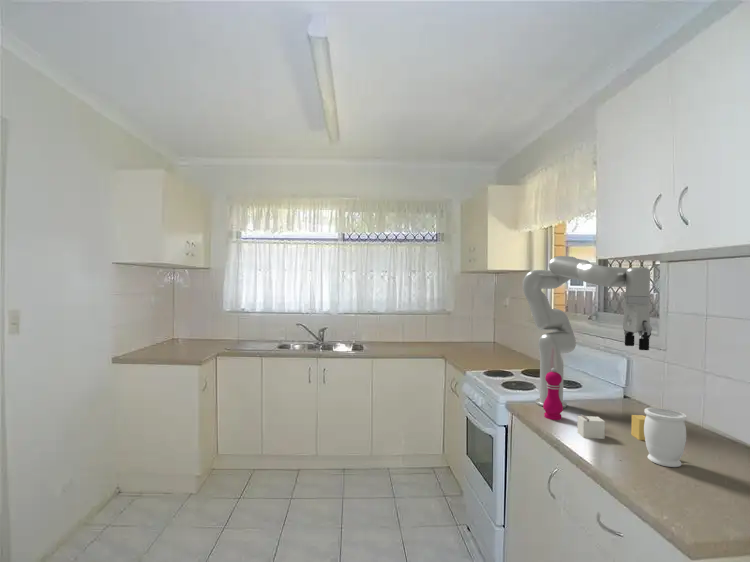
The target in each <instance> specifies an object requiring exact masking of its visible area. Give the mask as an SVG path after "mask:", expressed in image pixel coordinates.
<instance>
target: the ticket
mask: <svg viewBox="0 0 750 562" xmlns="http://www.w3.org/2000/svg"><path fill="white" fill-rule="evenodd" d="M605 427H606V421H605V420H604V419H602V418H600V416H591V415H589V416H588V415H584V414H580V415H577V434H579V435H580V437H582V438H583V439H602V440H603V439H604V440H605V433H606V431H605V430H606V428H605Z"/></svg>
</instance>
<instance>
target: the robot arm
mask: <svg viewBox="0 0 750 562" xmlns="http://www.w3.org/2000/svg"><path fill="white" fill-rule="evenodd" d="M571 279H573V280H578V281H581V282H583V283H587V284H590V285H596V286H600V287H606V288H611V287H612V288H625V306H624V309H623V310H624V311H623V320H622V321H623V322H622V329H623V331H624V332H623V333H624V346H626V347H634V346H635V335H634V334H635V333H638V336H639V338H638V350H639V351H649V350H650V340H651V336H652V330H653V327H652V326H651V316H650V301H651V300H650V297H651V295H650V293H651V271H650V269H649V268H647V267H619V266H618V267H617V266H605V265H603V266H602V265H599V264H594V263H590V261H589V260H587V259H580V258H576V257H574V256H568V255H567V256H566V255H558V256H554V257H552V258H551V259H550V260H549V263H548V270H547V269H546V270H545V269H535V270H531V271H529V272H527V273H526V274H525V276H524V278H523V280H522V291H523V294H524V296H525V298H526V301H527V303H528V306H529V310H530V312H531V316H532V319H533V322H534V324H535V326H536V328H537V329H538V330H540V331H552V332H546V333H544V334H542V335H541V336H540V337H539V338H538V342H537V345H538V352H539V363H540V364H539V398H537V399H536V400H535V403H536V404H537V405H538V406H541V407H543V404H544V401H545V399H546V398H547V395H548V388H547V381H546V380H545V377H546V374H547V373H549V372H552V371H551V369H552V368H555V369H556V372H557V373H559V374H560V375H561V377H562V381H561V383H560V384H559V385H560V389H559V398H560V400H561V402H562V405H563V409H565V408H567V403H568V402H566V401H564V361H563V358H562V354H569V353H571V352H573V351H574V350H575V348H576V346H577V342H576V337H575V334H574V331H573V328H572V324H571V323H570V319H569V317H568V316H567V314H566V312H564V311H563V310H561V309H558V308H552V307H551V305H550V302H549V299H548V297H547V295H546V294H545V293H544V291H542V289H543V290H544V289H545V290H548V289H549V290H551V289H552V290H554V289H558V288H559V287H561V286H562V285H564V284H565V283H567V282H568V281H570V280H571Z"/></svg>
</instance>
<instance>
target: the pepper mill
mask: <svg viewBox="0 0 750 562" xmlns="http://www.w3.org/2000/svg"><path fill="white" fill-rule="evenodd" d="M551 371H552V372H549V373H547V374H546V377H545V380H546V381H547V388H548V395H547V398H546V399H545V401H544V404H543V406H542V408H543V410H544V411H545V412H544V413H543V416H544V418H545V419H548V420H552V421H560V420H562V414H561V413H562V412H563V411H564V408H563V405H562V402H561V400H560V398H559V389H560V385H559V384H560V383H561V381H562V377H561V375H560V374H559V373H557V372H556V369H555V368H552V369H551Z"/></svg>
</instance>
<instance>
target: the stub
mask: <svg viewBox="0 0 750 562" xmlns="http://www.w3.org/2000/svg"><path fill="white" fill-rule="evenodd" d="M645 418H646V415H643V414H631V436H632V437H634V438H635V439H637V440H638V441H645V435H644V422H645Z"/></svg>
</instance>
